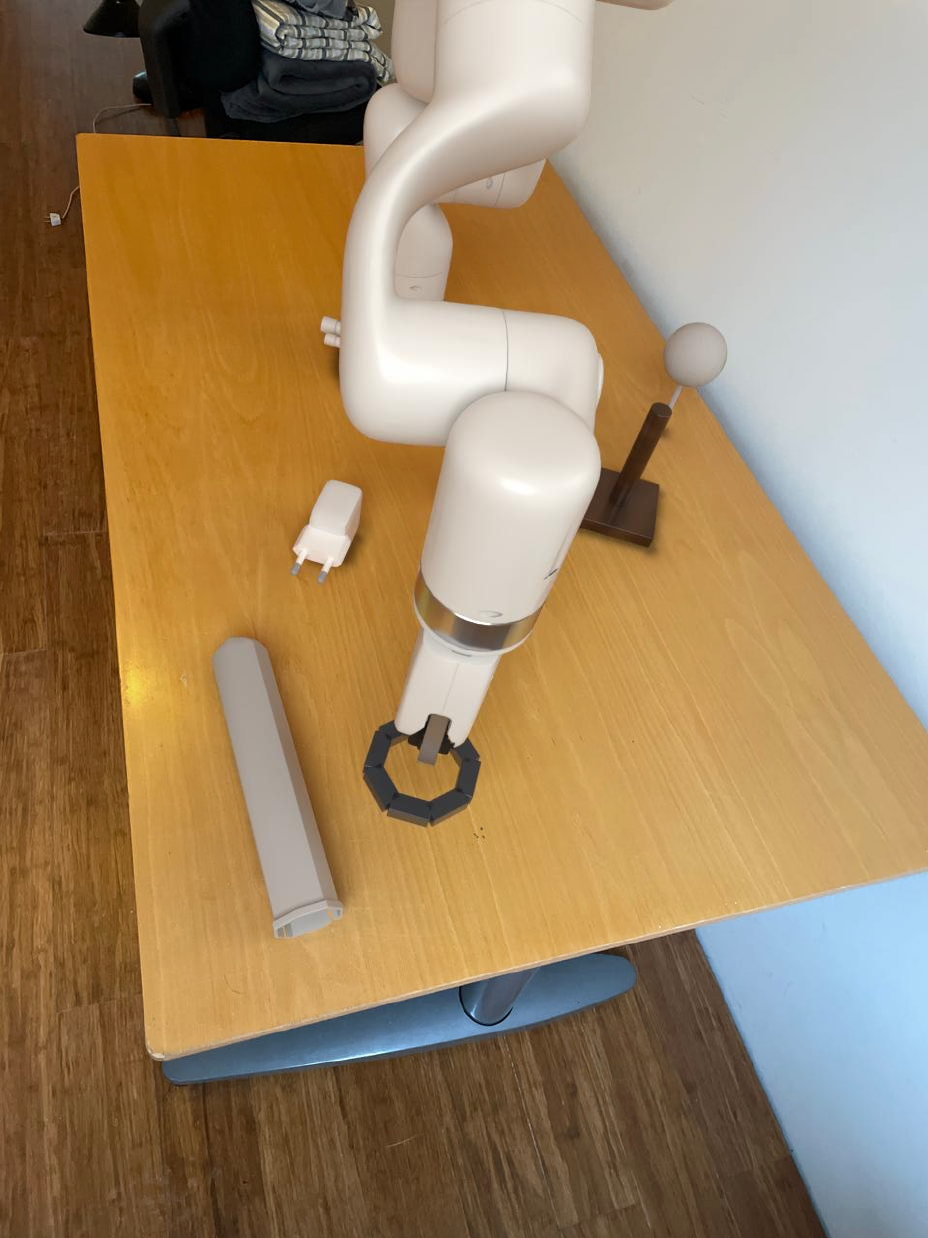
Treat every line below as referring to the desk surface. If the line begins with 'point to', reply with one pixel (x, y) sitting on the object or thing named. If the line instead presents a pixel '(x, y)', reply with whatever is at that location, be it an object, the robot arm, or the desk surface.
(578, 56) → the robot arm
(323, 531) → the power adapter
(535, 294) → the desk surface
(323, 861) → the tube
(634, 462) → the post
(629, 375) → the desk surface
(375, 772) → the ring
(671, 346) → the lollipop
